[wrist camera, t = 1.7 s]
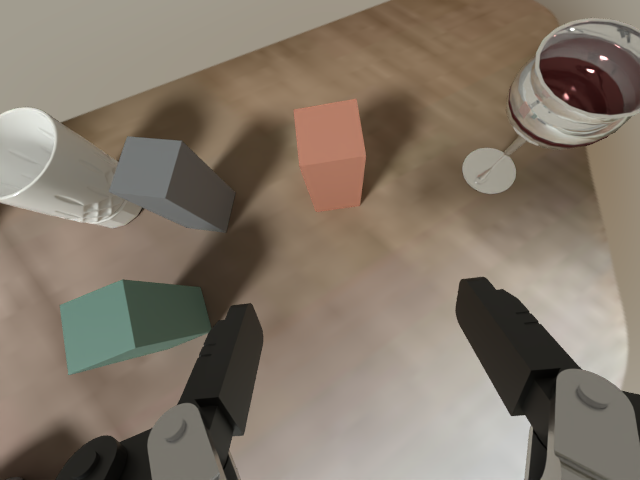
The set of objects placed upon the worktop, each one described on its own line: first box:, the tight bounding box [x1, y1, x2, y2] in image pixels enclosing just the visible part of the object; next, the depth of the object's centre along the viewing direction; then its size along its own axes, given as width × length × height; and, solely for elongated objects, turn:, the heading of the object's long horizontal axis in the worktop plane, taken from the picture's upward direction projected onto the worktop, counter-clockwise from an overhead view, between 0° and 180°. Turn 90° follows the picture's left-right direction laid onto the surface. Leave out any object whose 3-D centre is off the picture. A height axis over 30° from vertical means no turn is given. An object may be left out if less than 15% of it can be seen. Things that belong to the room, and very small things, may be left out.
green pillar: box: [60, 280, 212, 375], centre depth 22 cm, size 4×4×10 cm
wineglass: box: [462, 18, 640, 194], centre depth 20 cm, size 7×7×12 cm
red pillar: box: [294, 99, 366, 212], centre depth 23 cm, size 4×4×10 cm
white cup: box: [0, 107, 142, 228], centre depth 25 cm, size 8×8×10 cm
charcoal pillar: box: [109, 136, 235, 233], centre depth 24 cm, size 4×4×10 cm
